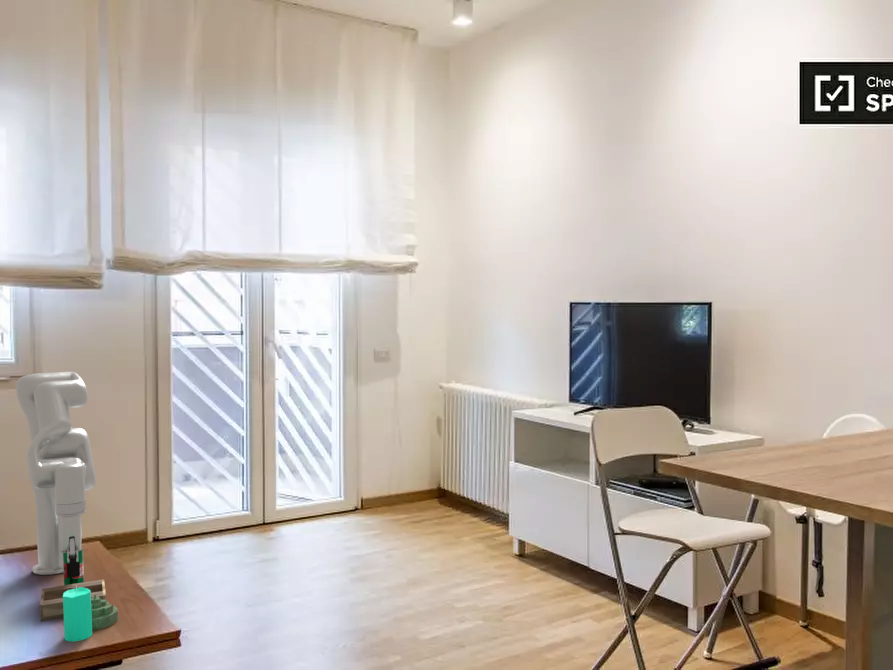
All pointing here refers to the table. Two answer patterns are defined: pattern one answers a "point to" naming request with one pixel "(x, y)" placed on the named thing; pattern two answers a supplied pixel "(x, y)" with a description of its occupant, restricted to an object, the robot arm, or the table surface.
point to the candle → (77, 614)
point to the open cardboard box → (54, 598)
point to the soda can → (80, 578)
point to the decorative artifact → (102, 613)
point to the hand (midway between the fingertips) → (73, 573)
